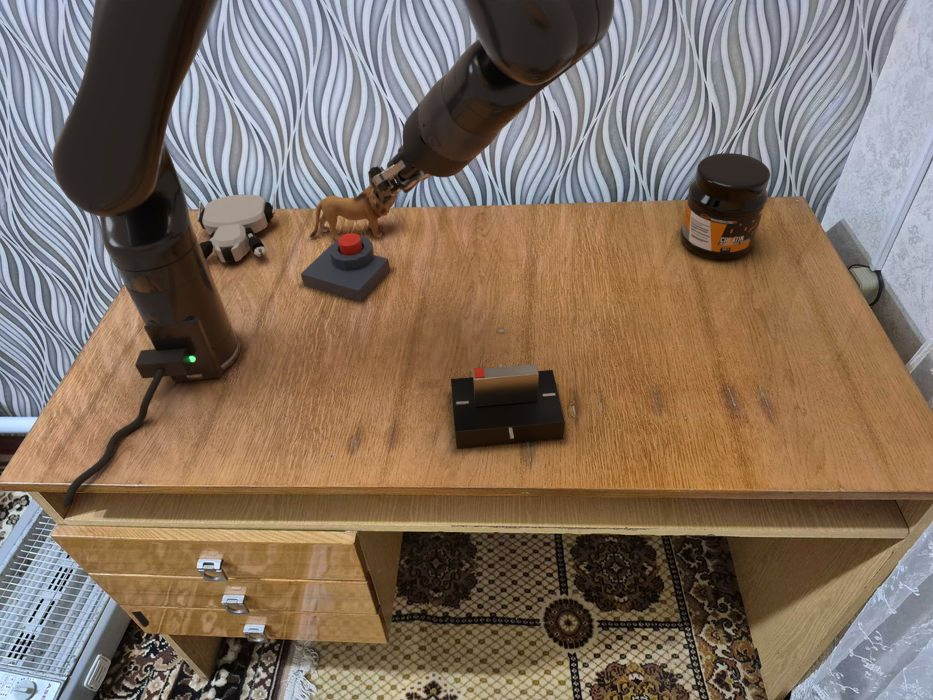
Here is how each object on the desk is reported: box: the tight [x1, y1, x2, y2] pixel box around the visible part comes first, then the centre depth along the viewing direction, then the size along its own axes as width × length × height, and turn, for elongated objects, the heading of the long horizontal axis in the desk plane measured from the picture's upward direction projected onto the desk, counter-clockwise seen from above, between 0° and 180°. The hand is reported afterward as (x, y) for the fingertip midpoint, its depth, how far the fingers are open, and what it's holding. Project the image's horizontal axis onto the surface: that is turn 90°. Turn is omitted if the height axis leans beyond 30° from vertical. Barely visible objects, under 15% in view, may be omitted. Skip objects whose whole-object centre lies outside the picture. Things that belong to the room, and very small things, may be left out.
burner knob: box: [472, 363, 539, 407], centre depth 73 cm, size 7×2×5 cm, turn 94°
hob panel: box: [450, 363, 566, 450], centre depth 75 cm, size 12×11×3 cm
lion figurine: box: [308, 184, 398, 241], centre depth 102 cm, size 15×5×9 cm, turn 103°
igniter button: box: [338, 232, 362, 256], centre depth 95 cm, size 3×3×2 cm
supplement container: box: [680, 152, 771, 260], centre depth 95 cm, size 10×10×12 cm
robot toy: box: [196, 192, 277, 264], centre depth 104 cm, size 12×4×15 cm
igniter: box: [300, 235, 391, 303], centre depth 96 cm, size 10×9×4 cm
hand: (391, 190), depth 79 cm, fingers open, 3 cm apart
